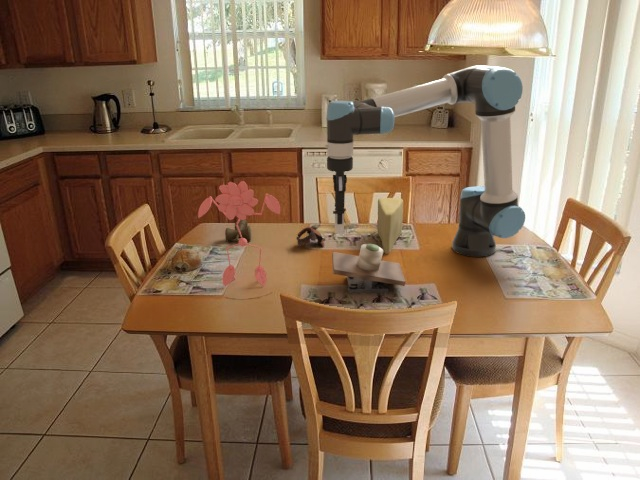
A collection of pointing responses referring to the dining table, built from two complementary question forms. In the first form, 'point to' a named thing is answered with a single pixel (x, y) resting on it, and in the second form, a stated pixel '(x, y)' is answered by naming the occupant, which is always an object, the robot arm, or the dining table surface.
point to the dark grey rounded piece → (235, 234)
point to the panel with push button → (368, 266)
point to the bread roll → (186, 260)
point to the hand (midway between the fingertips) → (339, 232)
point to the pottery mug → (309, 236)
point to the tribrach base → (366, 286)
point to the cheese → (389, 221)
